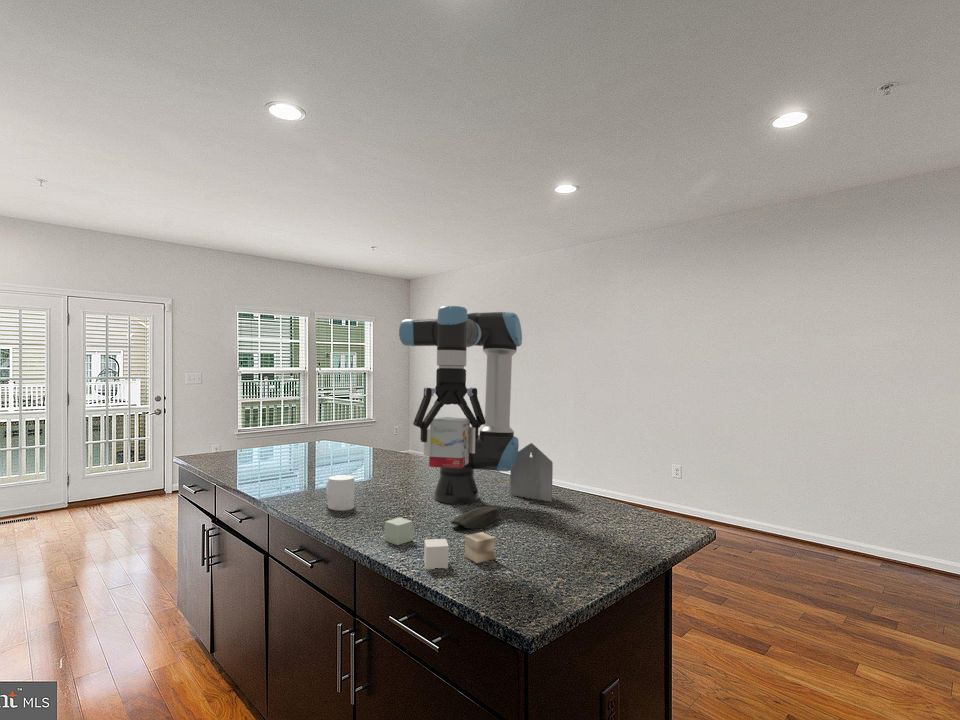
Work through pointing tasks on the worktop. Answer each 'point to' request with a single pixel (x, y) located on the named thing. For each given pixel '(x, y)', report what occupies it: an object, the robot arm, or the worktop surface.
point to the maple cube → (479, 547)
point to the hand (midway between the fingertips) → (449, 454)
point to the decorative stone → (477, 517)
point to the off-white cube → (436, 553)
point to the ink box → (449, 442)
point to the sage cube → (398, 531)
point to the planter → (532, 475)
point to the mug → (340, 492)
